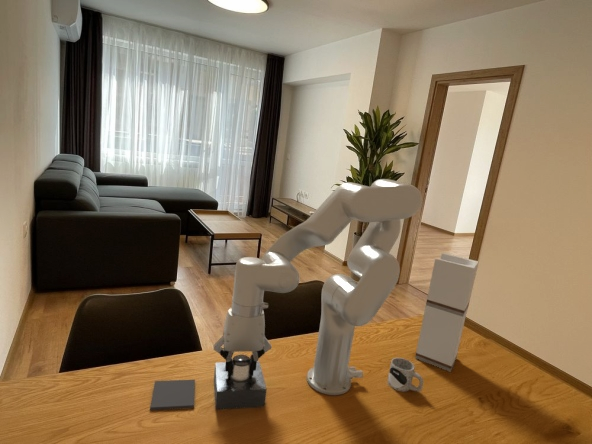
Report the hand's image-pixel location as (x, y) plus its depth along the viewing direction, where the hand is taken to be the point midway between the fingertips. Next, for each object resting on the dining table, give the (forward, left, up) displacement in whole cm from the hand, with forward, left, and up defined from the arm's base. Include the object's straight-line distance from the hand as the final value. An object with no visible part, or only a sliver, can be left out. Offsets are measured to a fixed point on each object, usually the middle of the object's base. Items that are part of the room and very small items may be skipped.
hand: (240, 372), depth 98 cm
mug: (-48, +1, -6) cm, 48 cm away
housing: (0, 0, -6) cm, 6 cm away
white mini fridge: (-68, -13, -6) cm, 70 cm away
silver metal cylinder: (0, 0, -6) cm, 6 cm away
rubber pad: (+16, 0, -6) cm, 17 cm away
